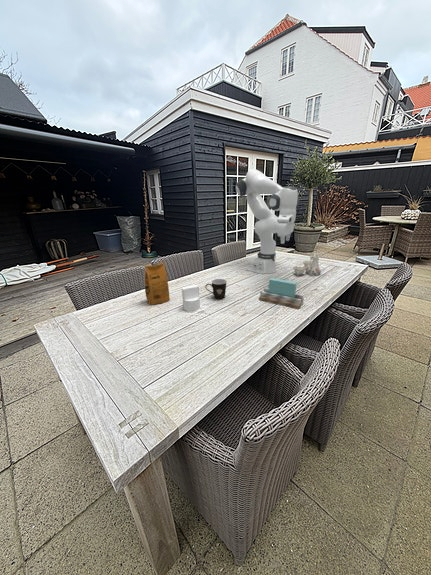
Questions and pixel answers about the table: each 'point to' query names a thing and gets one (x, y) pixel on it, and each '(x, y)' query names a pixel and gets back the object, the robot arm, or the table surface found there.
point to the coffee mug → (218, 288)
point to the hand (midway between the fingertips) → (285, 242)
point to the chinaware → (309, 266)
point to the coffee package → (156, 284)
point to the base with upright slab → (191, 298)
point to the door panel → (282, 287)
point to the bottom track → (281, 299)
